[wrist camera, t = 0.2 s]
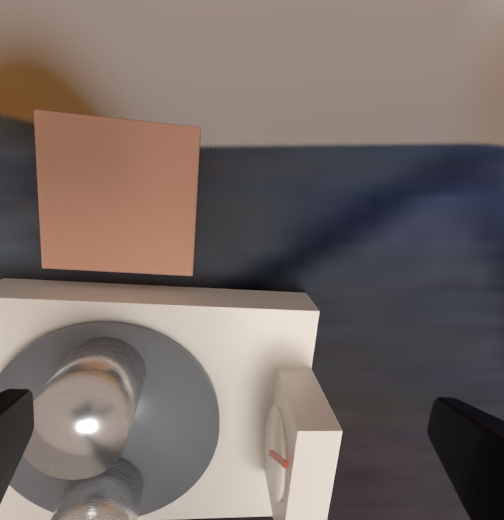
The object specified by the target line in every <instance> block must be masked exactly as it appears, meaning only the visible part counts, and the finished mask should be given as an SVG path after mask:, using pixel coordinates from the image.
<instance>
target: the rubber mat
mask: <svg viewBox="0 0 504 520" xmlns="http://www.w3.org/2000/svg"><path fill="white" fill-rule="evenodd" d="M34 128H35V147H36V165H37V184H38V203H39V221H40V240H41V259H42V268H47V269H66V270H85V271H104V272H123V273H142V274H161V275H180V276H193V267H194V248H195V229H196V209H197V190H198V171H199V151H200V132H201V131H200V130H201V129H200V127H193V126H185V125H174V124H166V123H156V122H147V121H138V120H128V119H119V118H110V117H100V116H90V115H81V114H72V113H63V112H53V111H43V110H34Z"/></svg>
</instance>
